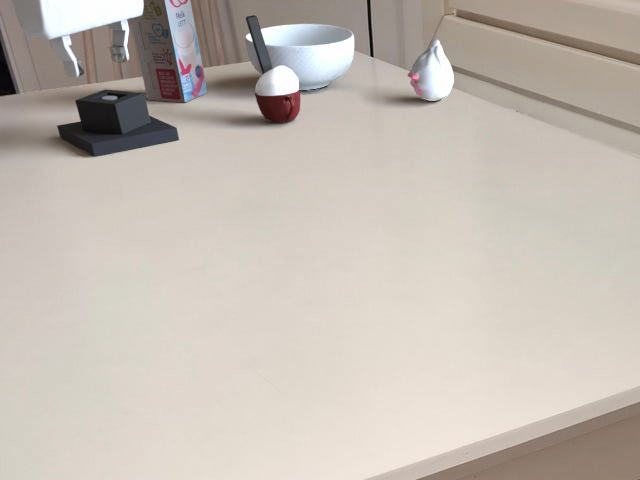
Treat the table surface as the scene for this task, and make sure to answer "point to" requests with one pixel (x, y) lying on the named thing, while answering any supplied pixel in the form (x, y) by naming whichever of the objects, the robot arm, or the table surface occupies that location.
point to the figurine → (432, 73)
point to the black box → (113, 111)
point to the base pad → (117, 136)
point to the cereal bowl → (307, 51)
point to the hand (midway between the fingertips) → (99, 68)
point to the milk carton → (169, 51)
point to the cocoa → (274, 82)
